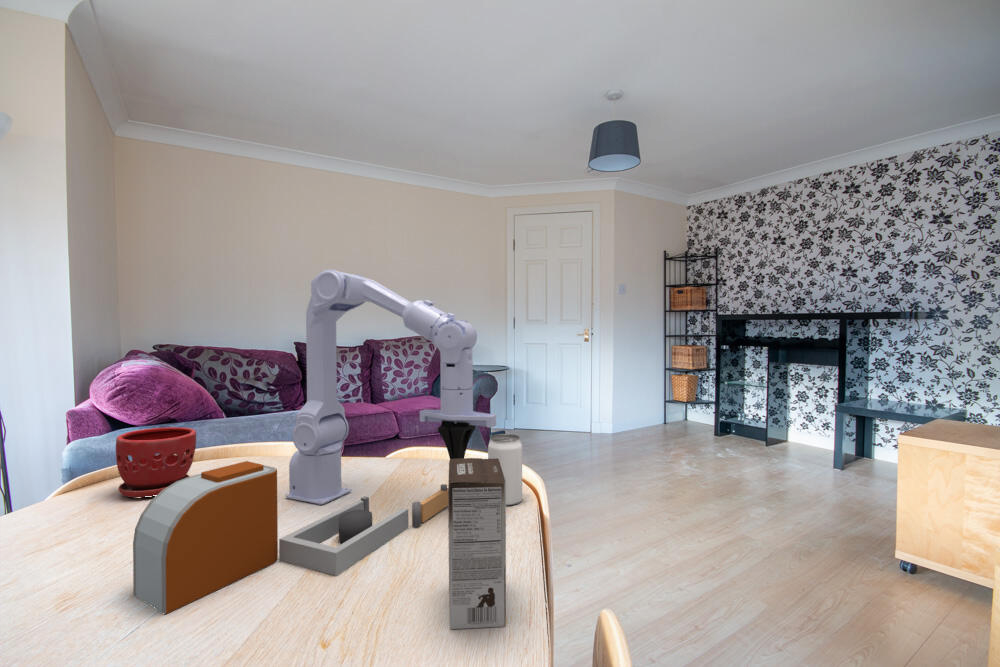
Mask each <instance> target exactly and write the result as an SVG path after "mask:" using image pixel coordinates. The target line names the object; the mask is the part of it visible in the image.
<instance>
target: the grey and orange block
mask: <svg viewBox="0 0 1000 667" xmlns="http://www.w3.org/2000/svg"><path fill="white" fill-rule="evenodd" d="M189 476H190V475H189ZM278 524H279V523H278V469H277V468H276V467H273V466H269V465H265V464H261V463H256V462H252V461H248V460H245V461H241V462H238V463H233V464H230V465H226V466H222V467H219V468H213V469H209V470H206V471H202V472H200V473H199V474H194V475H191V476H190V477H187V478H184V479H182V480H179V481H176V482H175V483H173V484H171V485H170V486H168V487H167V488H165V489H163V490H162V491H161V492H160V493H159V494H158V495H157V496H156V497H152V499H151V500H150V501H149V502H148V504H147V506H145V508H144V510H143V511H142V512H141V514H140V516H139V518H138V521H137V523H136V526H135V528H134V533H133V540H132V553H133V554H132V558H133V561H132V573H133V574H132V575H133V576H132V577H133V578H132V579H133V582H132V584H133V587H132V588H133V596H134V597H135V598H137V599H139V600H141V601H142V600H143V601H142V602H144V601H145V602H147V603H148V604H147V603H146V604H147V605H149V604H150V605H152V606H153V607H155V608H156V609H155V608H154V609H155V610H157V611H158V610H159V611H158V612H159V613H161V612H162V613H161V614H163V613H164V614H163V615H168V614H170V613H171V612H174V611H176V610H179V609H180V608H182V607H184V606H187V605H188V604H191V603H193V602H195V601H197V600H199V599H201V598H203V597H205V596H208V595H210V594H212V593H215V592H216V591H218V590H221V589H222V588H223V589H224V588H225V587H226V586H229V585H231V584H233V583H235V582H238V581H239V580H243V579H244V578H247V577H249V576H250V575H252V574H255V573H256V572H259V571H261V570H263V569H265V568H267V567H270V566H271V565H273V564H275V562H277V561H278V559H279V558H278V557H279V556H278V555H279V553H278V552H279V550H278V549H279V543H278V542H279V538H278V535H279V534H278V533H279V532H278ZM145 602H144V603H145ZM150 605H149V606H150ZM152 606H151V607H152ZM153 607H152V608H153Z"/></svg>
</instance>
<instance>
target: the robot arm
mask: <svg viewBox="0 0 1000 667" xmlns="http://www.w3.org/2000/svg"><path fill="white" fill-rule="evenodd" d="M310 284H311V286H310V287H311V288H310V292H311V296H310V299H309V302H308V304H307V308H306V311H305V312H306V314H305V317H306V318H305V326H306V327H305V328H306V329H305V330H306V333H305V334H306V338H305V339H306V343H305V344H306V347H305V348H306V403H305V404H304V405H302V407H301V408H300V409H299V411H298V412H297V413H296V422H295V425H294V428H293V431H292V441H293V442H292V443H293V445H294V447H295V448H296V449H297V450H296V451H295V452H294V453H293V455H292V456H291V458H290V460H289V463H288V464H289V465H288V466H289V467H288V469H289V470H288V471H289V472H288V473H289V477H288V478H289V480H288V481H289V483H288V484H289V489H288V490H289V493H288V494H286V495H285V497H286V498H287V499H291V500H295V501H296V500H297V501H300V502H306V503H312V504H317V505H324V504H326V503H327V504H328V502H331V501H333V500H337V499H338V498H340V497H342V496H344V495H347V494H348V493H351V492H352V489H351V488H347V487H342V447H343V446H344V445H343V444H344V442H343V441H345V440H346V439H347V438H348V435H349V432H350V431H349V430H350V429H349V428H350V425H349V422H348V420H347V418H346V415H345V414H346V413H345V412H346V411H345V407H344V406H343V405H342V403H341V402H339V400H338V382H337V381H338V377H337V372H338V371H337V370H338V366H337V363H338V362H337V357H338V356H337V322H338V321H339V319H341V318H342V317H343V316H344V315H345V314H346V313H348V312H349V311H352V310H354V309H356V308H358V307H360V306H362V305H364V304H365V303H372V304H373V305H376V306H378V307H380V308H382V309H385V310H386V311H389V313H392V314H394V315H395V316H399V317H400V318H402V320H403V325H404V327H405V328H406V329H408V330H410V331H412V332H413V333H416V334H417V335H419V336H421V337H423V338H424V339H426V340H428V341H430V342H432V343H434V345H435V346H436V349H437V350H438V351H439V353H440V364H439V365H440V409H422V410H419V422H420V423H421V422H423V423H425V422H432V423H433V422H434V423H441V425H440V426H438V427H437V431H438V433H439V435H440V437H441V439H442V440H443V442H444V445H445V447H446V450H447V453H448V457H449V460H450V459H459V458H465V455H466V451H467V448H468V445H469V442H470V439H471V437H472V435H473V433H474V431H475V430H476V426H478V427H486V428H488V429H489V428H491V429H492V428H494V427H496V426H497V414H495V413H493V414H492V413H485V412H479V411H474V391H473V390H474V384H473V383H474V380H473V379H474V377H473V376H474V375H473V374H474V373H473V372H474V369H473V368H474V366H473V364H474V363H473V348H474V346H475V345H476V344H477V337H478V335H477V331H476V328H475V327H474V326H473V325H472V324H471V323H470V322H469V321H468V320H466V319H465V320H464V319H458V320H456V318H455V317H456V315H455V314H454V313H451V312H447V313H446V312H444V311H443V310H441V309H439V308H437V307H435V306H434V302H433V301H431V300H428V299H424V300H422V299H418V300H416V301H412V302H411V301H409V300H408V299H406V298H405V297H403V296H401V295H399V294H398V293H396V292H394V290H393V291H392V290H391V289H389V287H386V286H384V285H383V284H381V283H379V282H378V281H376V280H373V279H371V278H367V277H365V276H363V275H361V274H354V273H353V274H352V273H348V272H343V271H339V270H335V269H331V268H330V269H329V268H328V269H325V270H322V271H321V272H320V273H319V274H318V275H316V277H314V278H313V279H312V280H311V282H310Z"/></svg>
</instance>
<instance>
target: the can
mask: <svg viewBox="0 0 1000 667" xmlns="http://www.w3.org/2000/svg"><path fill="white" fill-rule="evenodd" d="M489 439H490V440H489V442H488V445H487V459H494V458H498V459H499V462H500V465H501V468H502V471H503V475H504V478H505V481H506V507H509V506H515V505H518V504H519V503H521V502H522V500H523V445H522V442H521V440H520V436H519V435H517V434H511V433H498V434H494V435H493V434H492V435H491V436H490V438H489Z"/></svg>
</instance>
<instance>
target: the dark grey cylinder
mask: <svg viewBox="0 0 1000 667" xmlns="http://www.w3.org/2000/svg"><path fill="white" fill-rule="evenodd" d="M371 526H373V513H372V511H370V510H369V511H367V510H353V511H349V512H346V513H343V514H342V515H340V516H339V533H338V542H339V543H340V545H341V544H343V543H344V542H346V541H348V540H349V539H351V538H353V537H354V536H356V535H358V534H359V533H361V532H363V531H365V530H366V529H368V528H370V527H371Z"/></svg>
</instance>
